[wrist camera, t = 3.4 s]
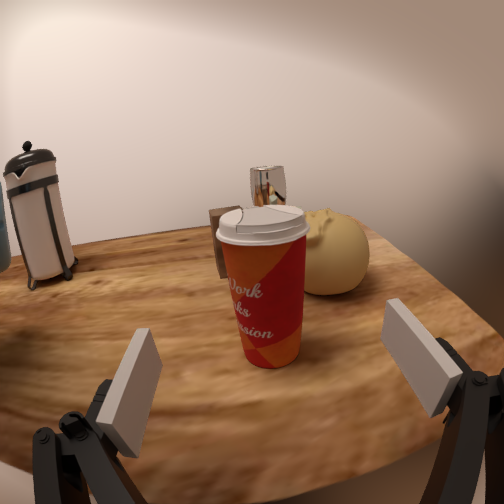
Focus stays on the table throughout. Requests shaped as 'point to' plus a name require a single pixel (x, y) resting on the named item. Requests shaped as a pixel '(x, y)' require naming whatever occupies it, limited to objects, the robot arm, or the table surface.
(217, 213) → the walnut block
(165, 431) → the table surface
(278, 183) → the beer glass
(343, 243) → the sculpture
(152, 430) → the table surface
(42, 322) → the table surface
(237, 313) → the paper cup
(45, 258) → the coffee press
